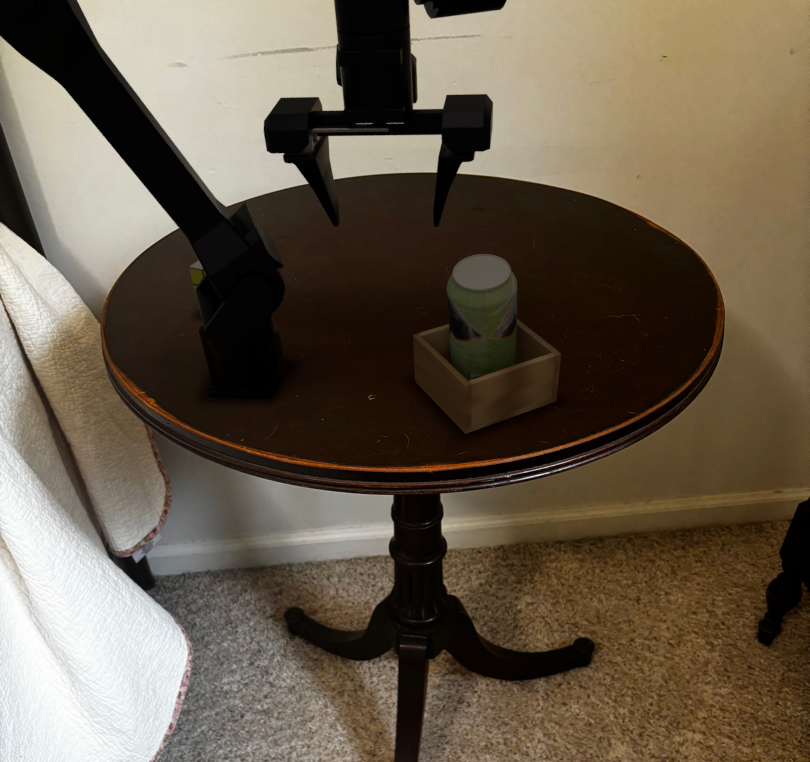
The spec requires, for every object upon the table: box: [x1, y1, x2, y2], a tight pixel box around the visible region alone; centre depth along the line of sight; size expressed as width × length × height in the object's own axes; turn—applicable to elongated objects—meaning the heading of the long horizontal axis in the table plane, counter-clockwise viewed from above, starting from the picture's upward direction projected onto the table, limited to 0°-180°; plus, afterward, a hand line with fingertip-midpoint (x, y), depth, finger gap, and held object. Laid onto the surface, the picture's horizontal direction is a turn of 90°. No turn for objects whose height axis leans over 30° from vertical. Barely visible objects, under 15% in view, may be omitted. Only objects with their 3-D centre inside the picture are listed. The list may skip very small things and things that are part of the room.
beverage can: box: [446, 253, 518, 381], centre depth 72 cm, size 6×7×12 cm
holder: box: [412, 318, 562, 435], centre depth 74 cm, size 10×10×5 cm
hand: (386, 224), depth 73 cm, fingers open, 9 cm apart
